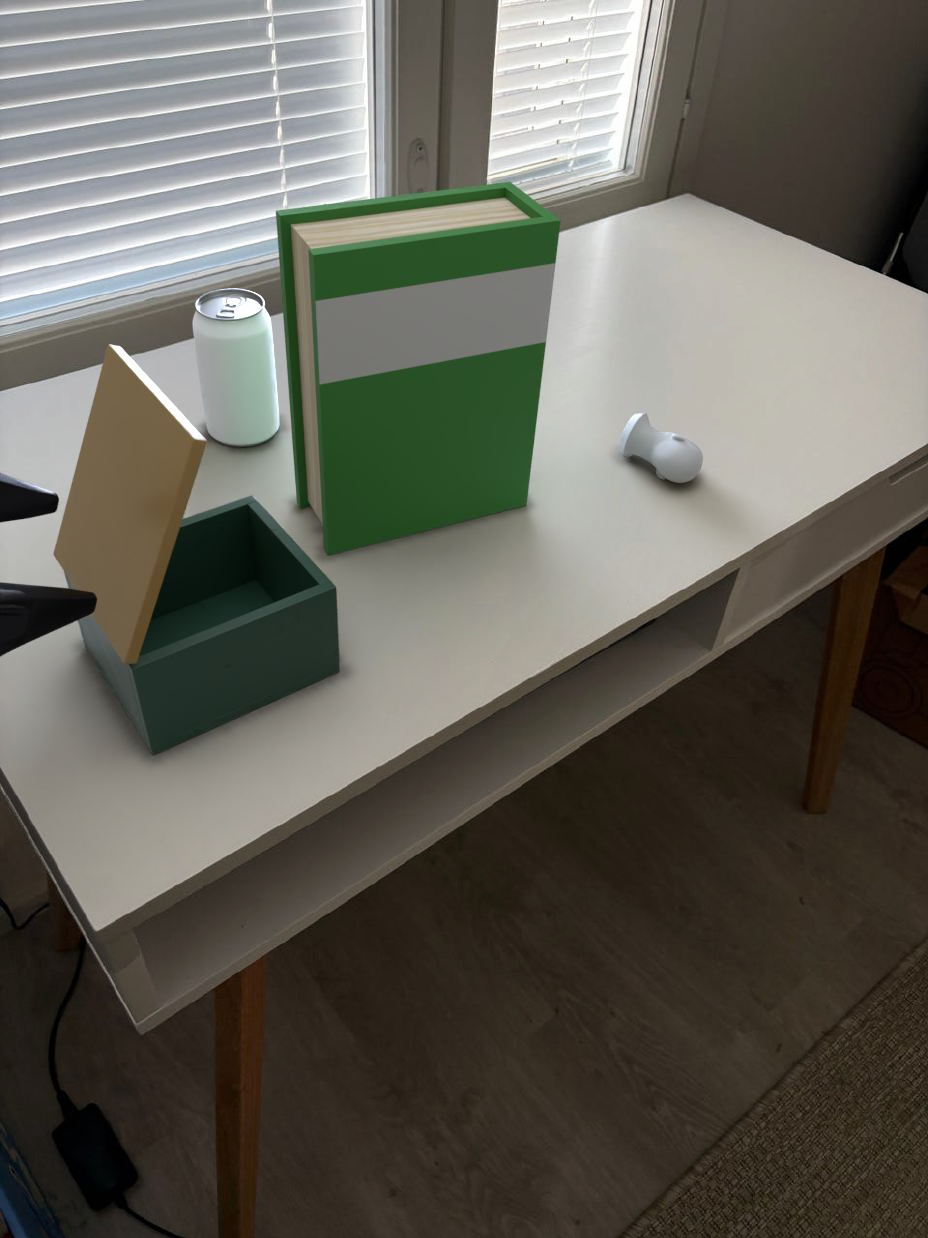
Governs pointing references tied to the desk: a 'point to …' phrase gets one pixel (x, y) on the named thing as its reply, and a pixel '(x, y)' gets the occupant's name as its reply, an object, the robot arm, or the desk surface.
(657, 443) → the smooth white sculpture
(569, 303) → the desk surface
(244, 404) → the can
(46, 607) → the robot arm
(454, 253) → the hardback book
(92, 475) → the lid
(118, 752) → the desk surface
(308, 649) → the dark green open box
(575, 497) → the desk surface
